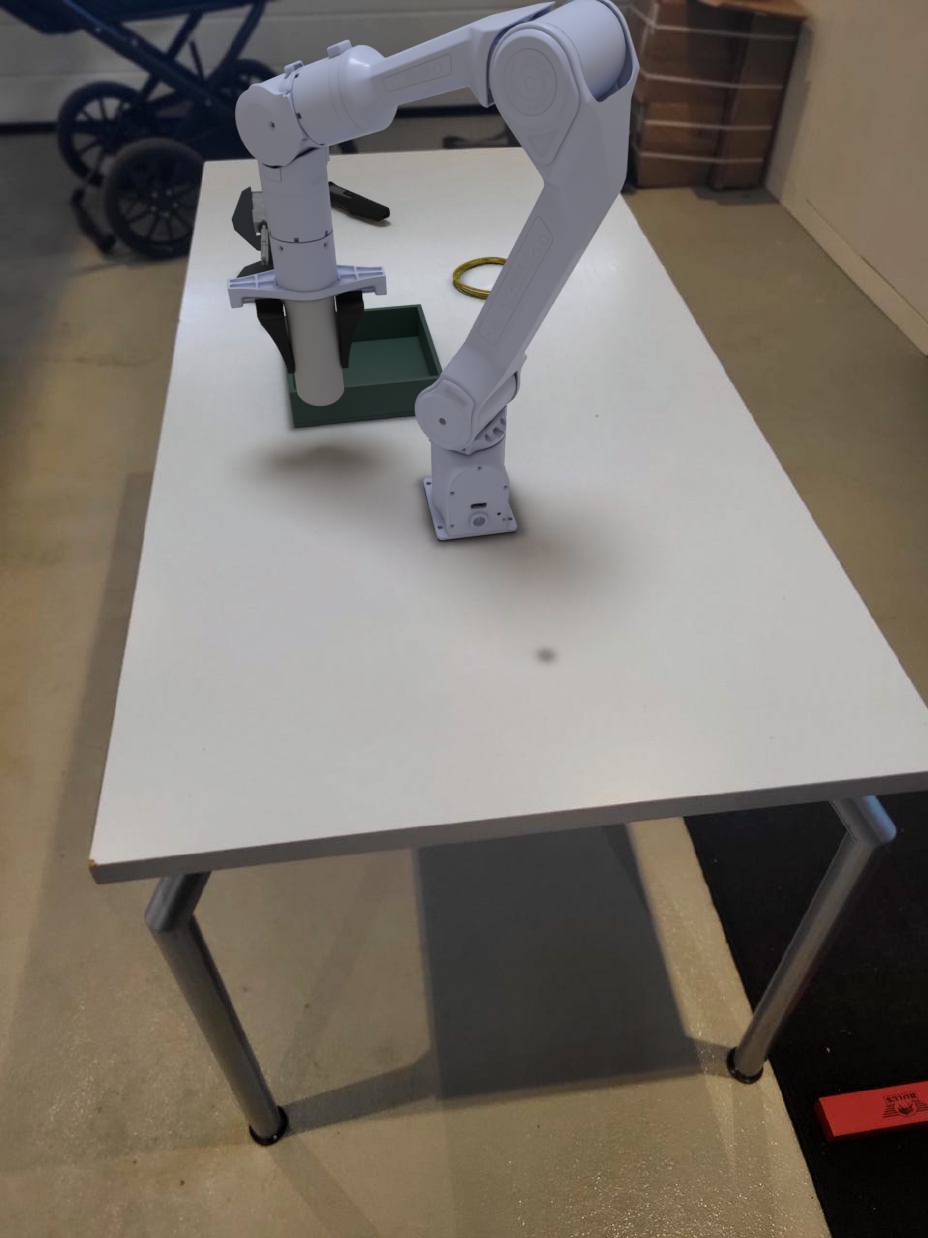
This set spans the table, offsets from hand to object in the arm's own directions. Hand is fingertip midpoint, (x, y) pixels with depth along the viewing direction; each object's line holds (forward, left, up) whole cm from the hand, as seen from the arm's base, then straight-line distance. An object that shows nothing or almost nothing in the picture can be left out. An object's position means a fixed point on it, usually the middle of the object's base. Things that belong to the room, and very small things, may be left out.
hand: (318, 365), depth 89 cm
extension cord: (+36, -28, -11) cm, 47 cm away
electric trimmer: (+63, -9, -11) cm, 64 cm away
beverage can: (0, 0, -4) cm, 4 cm away
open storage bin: (+14, -5, -10) cm, 18 cm away
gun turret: (+37, +3, -11) cm, 39 cm away
